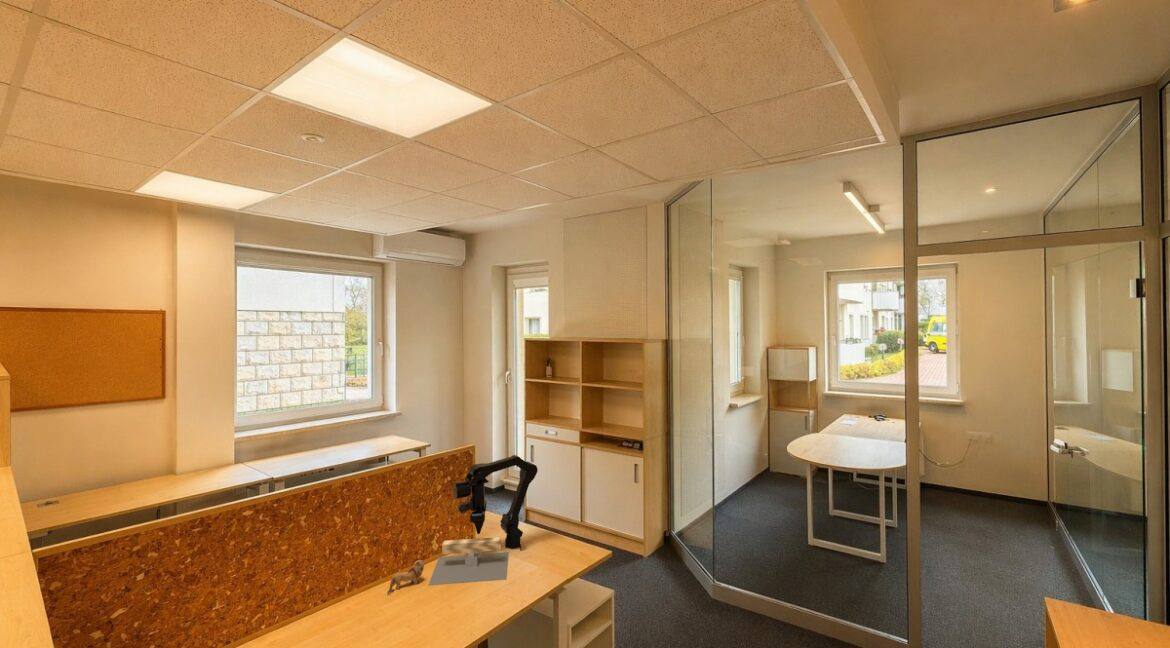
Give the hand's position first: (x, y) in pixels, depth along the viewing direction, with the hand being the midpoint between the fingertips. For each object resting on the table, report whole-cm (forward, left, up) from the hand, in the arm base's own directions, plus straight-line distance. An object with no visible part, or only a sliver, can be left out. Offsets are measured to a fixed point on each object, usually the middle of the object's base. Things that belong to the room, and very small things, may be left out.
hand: (479, 529), depth 219 cm
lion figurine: (+26, +22, -13) cm, 36 cm away
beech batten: (+2, +7, -6) cm, 10 cm away
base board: (+2, +12, -12) cm, 17 cm away
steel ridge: (+2, +7, -11) cm, 13 cm away
